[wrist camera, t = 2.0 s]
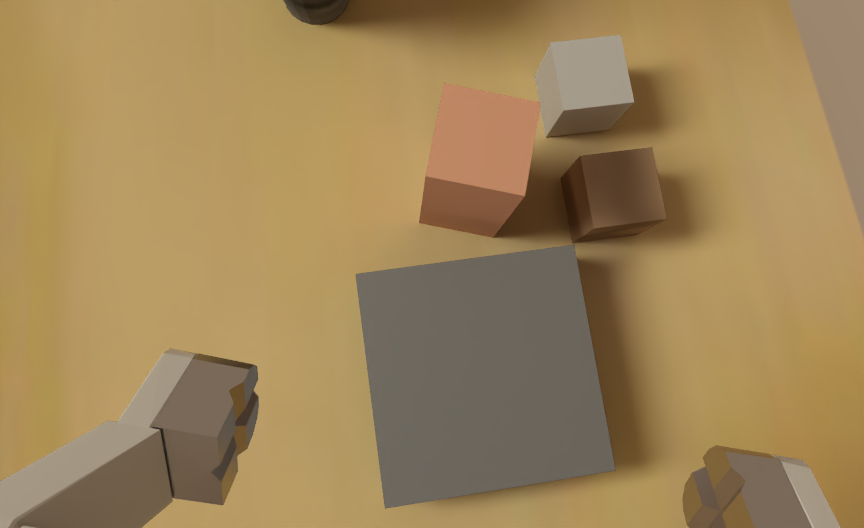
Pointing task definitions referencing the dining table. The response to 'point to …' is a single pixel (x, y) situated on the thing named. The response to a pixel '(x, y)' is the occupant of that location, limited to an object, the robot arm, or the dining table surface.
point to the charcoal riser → (482, 375)
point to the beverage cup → (316, 10)
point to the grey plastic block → (583, 85)
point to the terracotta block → (478, 160)
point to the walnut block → (612, 195)
